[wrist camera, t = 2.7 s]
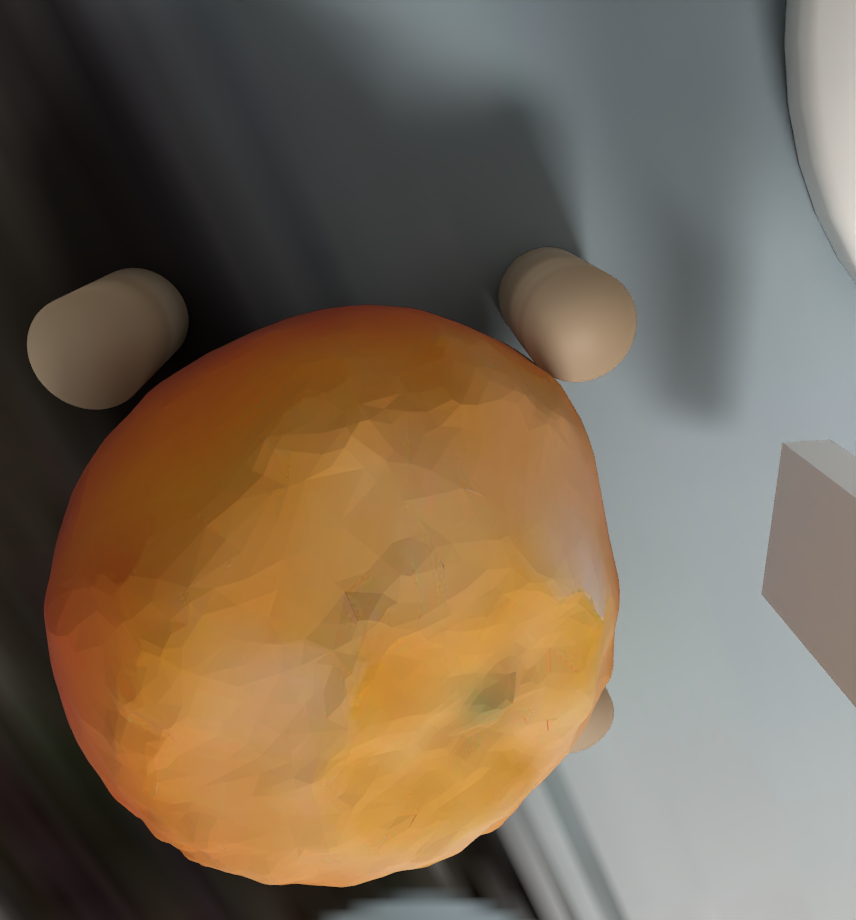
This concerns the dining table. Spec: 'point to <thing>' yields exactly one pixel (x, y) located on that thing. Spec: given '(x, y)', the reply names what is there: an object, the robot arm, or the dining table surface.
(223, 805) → the fruit
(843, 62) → the saucer
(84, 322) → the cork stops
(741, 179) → the dining table surface
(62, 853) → the dining table surface
